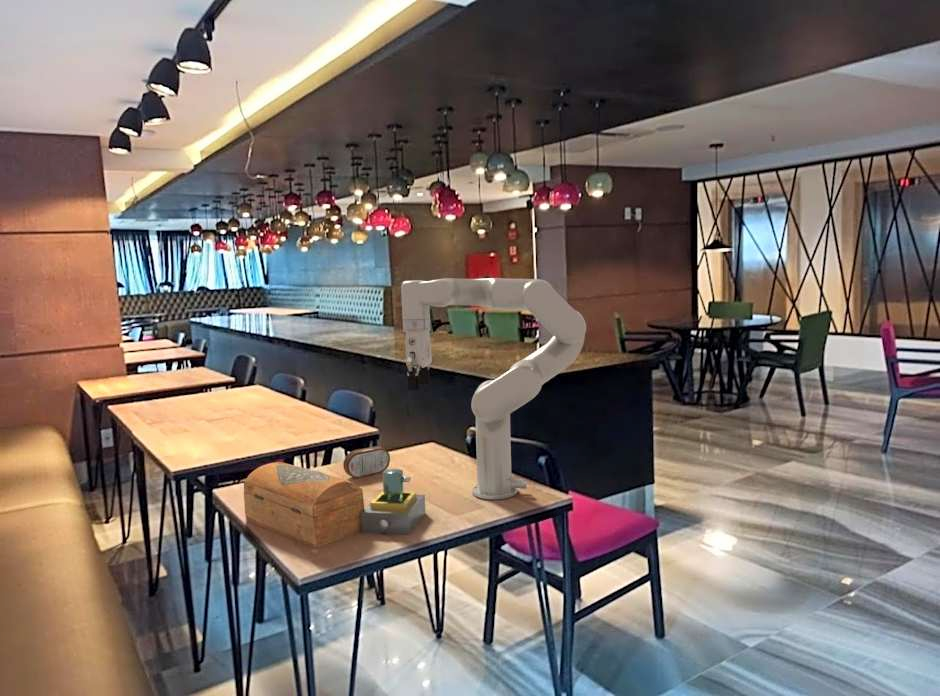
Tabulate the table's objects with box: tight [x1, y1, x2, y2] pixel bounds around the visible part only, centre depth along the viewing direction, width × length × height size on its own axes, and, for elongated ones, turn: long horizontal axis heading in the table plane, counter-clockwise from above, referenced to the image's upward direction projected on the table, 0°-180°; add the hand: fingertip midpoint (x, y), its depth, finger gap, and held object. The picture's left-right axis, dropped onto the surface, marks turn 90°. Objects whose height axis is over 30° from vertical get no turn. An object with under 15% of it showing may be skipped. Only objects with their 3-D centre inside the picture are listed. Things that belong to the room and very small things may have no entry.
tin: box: [343, 445, 391, 479], centre depth 212 cm, size 15×3×8 cm, turn 125°
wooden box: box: [243, 461, 365, 549], centre depth 173 cm, size 30×16×14 cm, turn 49°
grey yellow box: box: [361, 490, 426, 535], centre depth 171 cm, size 12×16×6 cm
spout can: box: [382, 468, 411, 503], centre depth 171 cm, size 7×5×8 cm
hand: (419, 386), depth 191 cm, fingers open, 9 cm apart
